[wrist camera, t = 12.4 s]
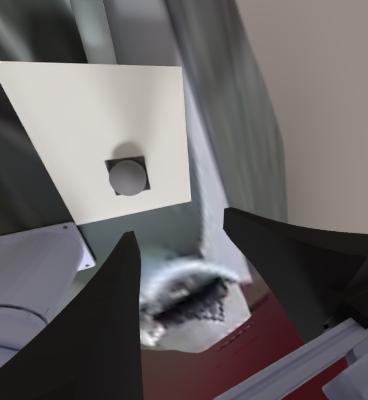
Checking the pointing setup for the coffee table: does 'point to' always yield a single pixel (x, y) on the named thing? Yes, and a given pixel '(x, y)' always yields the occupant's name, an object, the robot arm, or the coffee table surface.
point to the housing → (104, 131)
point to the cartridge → (94, 31)
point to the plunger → (127, 177)
